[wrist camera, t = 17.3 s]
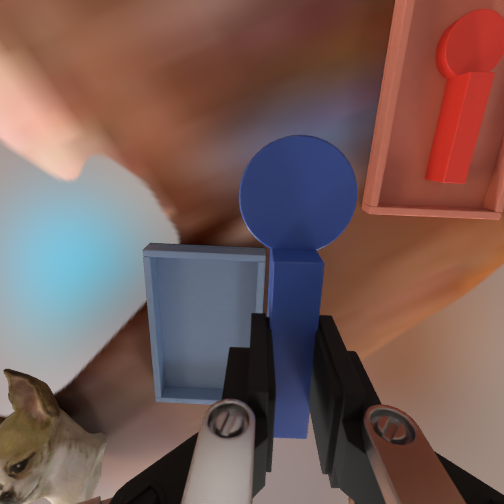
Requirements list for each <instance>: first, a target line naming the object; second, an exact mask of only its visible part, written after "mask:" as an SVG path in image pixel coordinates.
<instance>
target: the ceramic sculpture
mask: <svg viewBox="0 0 504 504" xmlns="http://www.w3.org/2000/svg"><path fill="white" fill-rule="evenodd" d="M4 374H5V375H6V377H7V379H8V384H9V393H8V397H9V400H10V402H11V404H12V406H13V409H14V410H15V412H13V413H12V414H11V415H9V416H8V417H7V418H3V417H0V490H1V491H2V492H1V495H0V504H30V503H32V502H33V501H35V500H37V499H39V498H42V497H44V498H47V499H48V500H49V501H50V502H51V503H52V504H77V503H80V502H83V501H86V500H90V499H92V497H93V494H94V491H95V489H96V487H97V484H98V482H99V479H100V477H101V467H102V459H103V454H104V450H105V447H106V444H107V436H106V434H105V433H102V432H99V433H95V434H91V433H88V432H86V431H85V430H84V429H83V428H82V427H81V426H79V425H78V424H77V423H76V422H75V421H74V420H73V419H72V418H71V417H70V416H69V415H68V414H66V413H65V412H64V411H63V410H62V409H61V408H59V405H58V403H57V401H56V399H55V397H54V395H53V393H52V391H51V389H50V388H49V386H48V385H47V384H46V383H44V382H43V381H41V380H38V379H37V378H35V377H32V376H30V375H28V374H24V373H21V372H18V371H14V370H10V369H5V370H4Z"/></svg>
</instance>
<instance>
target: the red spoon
mask: <svg viewBox="0 0 504 504" xmlns="http://www.w3.org/2000/svg"><path fill="white" fill-rule="evenodd" d="M503 54H504V19H503V17H502V16H501V15H500V14H499V13H497V12H496V11H494V10H491V9H477V10H474V11H471V12H469V13H467V14H466V15H464V16H463V17H461V18H459V19H458V20H456V21H455V22H453V23H452V24H451V25H450V26H449V27H448V28H447V29H446V30H445V31H444V33H443V34H442V36H441V38H440V40H439V42H438V45H437V49H436V65H437V68H438V70H439V72H440V74H441V75H442V76H443V77H444V78H445V79H447V82H446V86H445V91H444V95H443V100H442V104H441V108H440V113H439V117H438V122H437V126H436V130H435V135H434V139H433V144H432V148H431V153H430V157H429V161H428V166H427V170H426V175H425V179H426V180H431V181H436V182H441V183H455V184H465V182H466V178H467V175H468V171H469V167H470V164H471V160H472V156H473V153H474V149H475V145H476V142H477V138H478V134H479V131H480V127H481V123H482V120H483V116H484V112H485V109H486V105H487V101H488V98H489V94H490V90H491V87H492V83H493V79H494V76H495V72H490V71H491V70H492V69H493V68H494V67H495V66H496V65H497V64H498V63H499V61H500V60H501V58H502V56H503Z"/></svg>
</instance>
